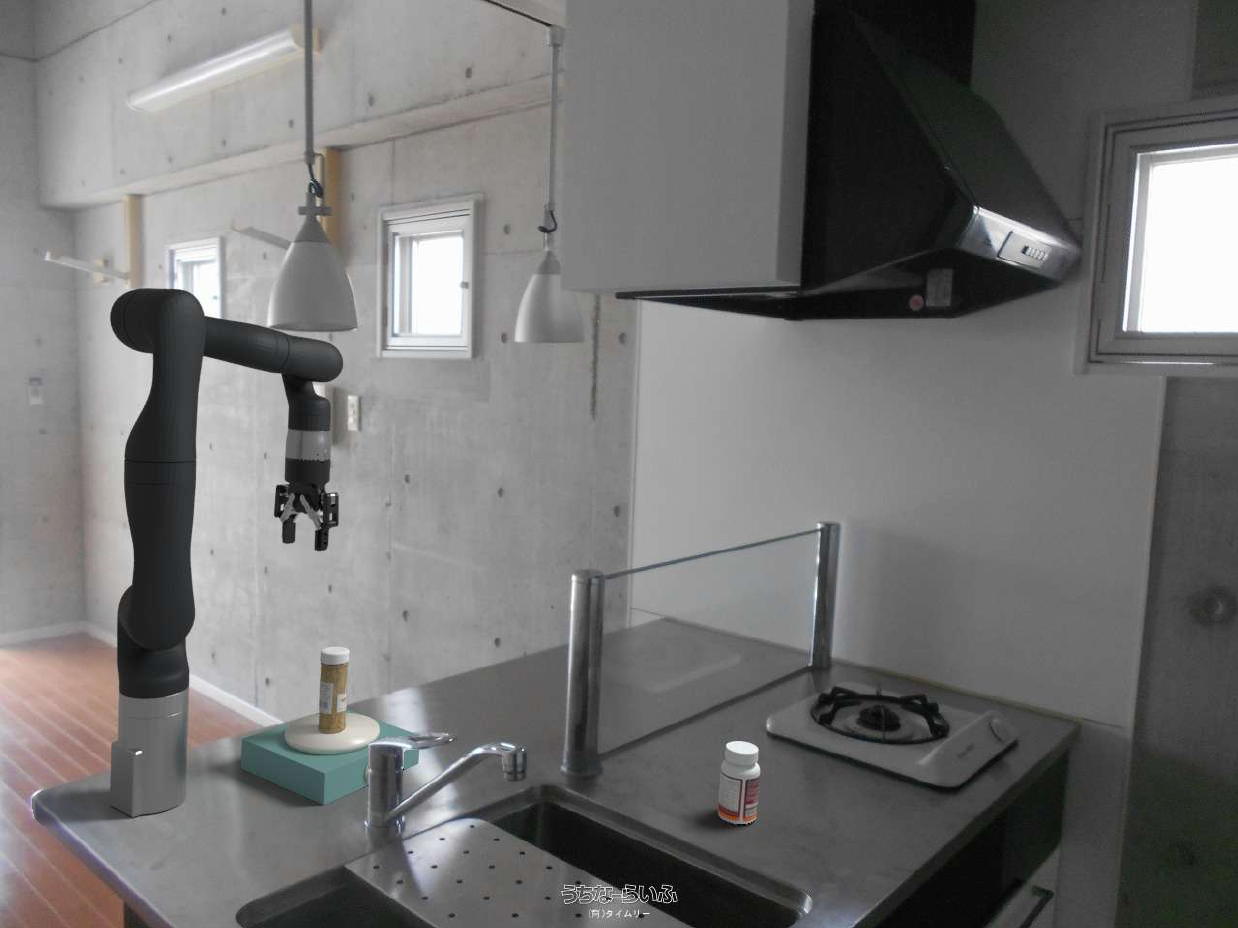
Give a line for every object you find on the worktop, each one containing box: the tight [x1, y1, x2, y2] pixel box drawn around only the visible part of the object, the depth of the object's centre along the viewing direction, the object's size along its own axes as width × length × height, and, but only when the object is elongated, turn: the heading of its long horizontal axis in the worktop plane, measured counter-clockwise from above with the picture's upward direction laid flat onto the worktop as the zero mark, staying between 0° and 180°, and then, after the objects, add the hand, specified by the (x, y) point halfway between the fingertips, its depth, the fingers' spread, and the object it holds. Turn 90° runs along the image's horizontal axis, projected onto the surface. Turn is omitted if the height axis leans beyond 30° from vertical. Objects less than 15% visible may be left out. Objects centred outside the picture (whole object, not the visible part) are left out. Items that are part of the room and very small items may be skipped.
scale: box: [240, 708, 421, 806], centre depth 150 cm, size 20×20×5 cm
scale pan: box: [285, 713, 380, 755], centre depth 150 cm, size 15×15×1 cm
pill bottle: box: [717, 740, 761, 825], centre depth 142 cm, size 6×6×11 cm
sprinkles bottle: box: [318, 646, 351, 733], centre depth 149 cm, size 5×5×13 cm
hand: (304, 546), depth 160 cm, fingers open, 8 cm apart
